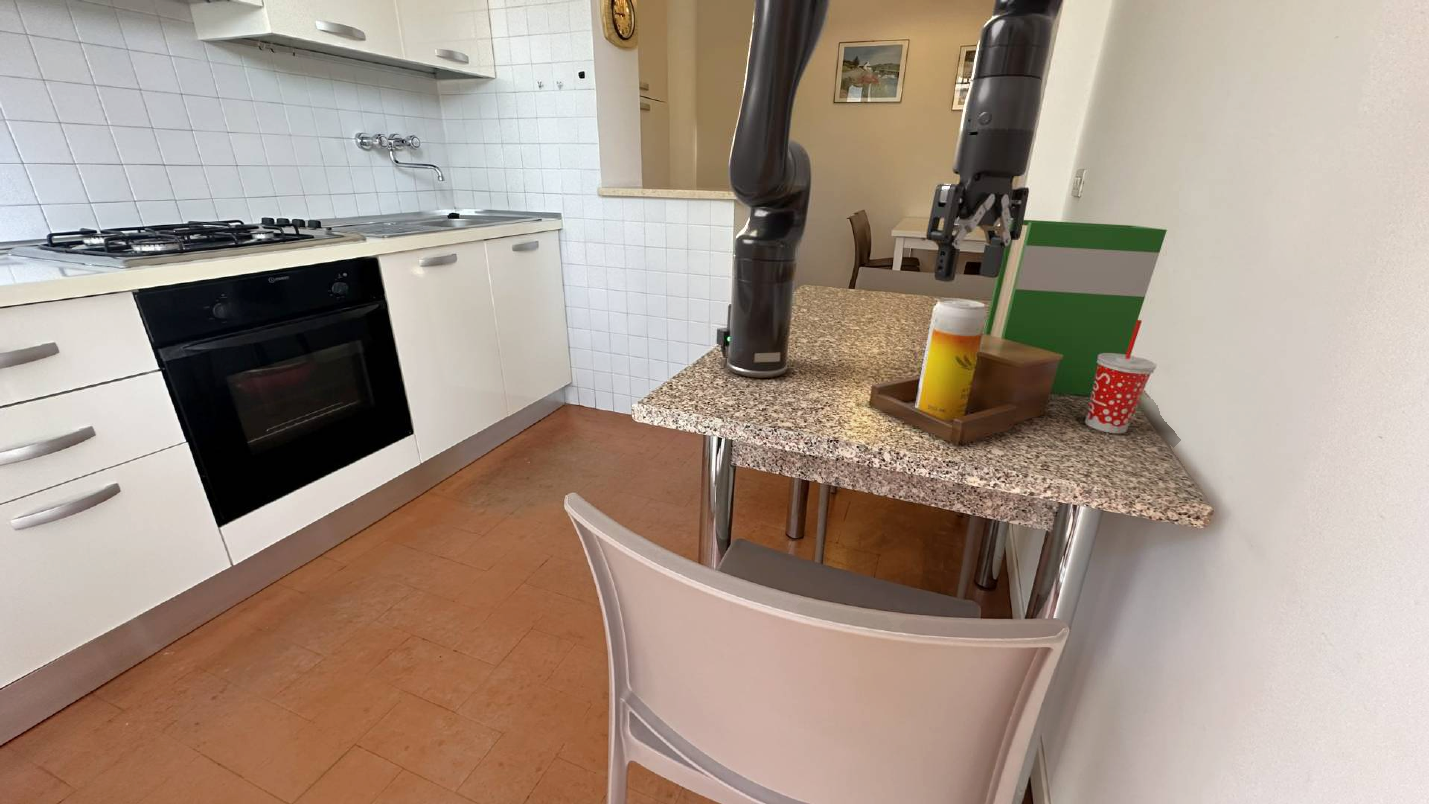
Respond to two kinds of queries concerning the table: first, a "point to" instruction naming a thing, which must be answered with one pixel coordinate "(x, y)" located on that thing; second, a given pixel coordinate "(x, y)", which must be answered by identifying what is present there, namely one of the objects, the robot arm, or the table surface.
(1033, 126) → the robot arm
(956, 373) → the beer can
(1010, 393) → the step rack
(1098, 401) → the beverage cup
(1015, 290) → the hardback book
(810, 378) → the table surface
